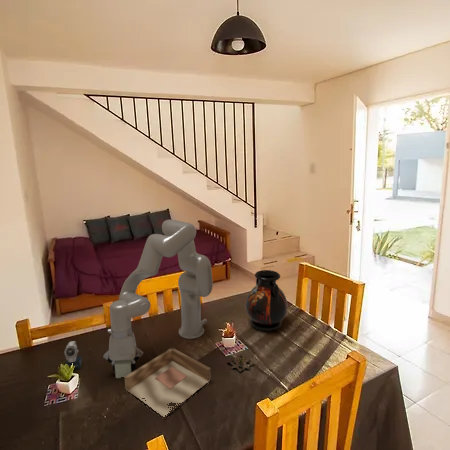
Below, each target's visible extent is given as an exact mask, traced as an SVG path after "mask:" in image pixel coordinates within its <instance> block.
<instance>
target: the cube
mask: <svg viewBox="0 0 450 450" xmlns="http://www.w3.org/2000/svg"><path fill="white" fill-rule="evenodd" d="M131 363H132V362H131V360H118V361H116V363H115V374H114V375H115V379H122V378H121V377H125V376H127V375H128V374H130V373H132V370H131Z"/></svg>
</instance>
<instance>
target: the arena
mask: <svg viewBox="0 0 450 450" xmlns="http://www.w3.org/2000/svg"><path fill="white" fill-rule="evenodd" d="M211 371H212V368H211V367H209V366H207V365H205V364H203V363H202V362H200V361H198V360H196V359H195V358H192V357H191V356H188V355H186V354H185V353H183V352H181V351H179V350H177V349H176V348H174V347H170V348H169V349H167V350H166V351H164V352H162V353H161V354H159V355H157V356H156V357H155V358H153V359H151V360H150V361H148V362H146V363H145V364H143V365H140V367H138V368H137V369H134V371H133V372H132V373H130V374H128V375H127V376H125V377H124V389H126V390H127V391H128V392H130V393H131V394H133V395H134V396H136V397H137V398H139V399H140V400H141V401H143V402H144V403H145V404H147V405H148V406H149V407H151V408H152V409H153V410H154V411H156V412H157V413H159V414H160V415H161V416H163V417H165V415H166V416H167V414H168V413H170V412H169V411H171V410H172V407H173V408H174V406H168V405H169V403H171V402H172V403H176V405H177V406H178V404H179V403H182V402H184V401H185V400H186V399H188V398H189V397H190V396H191V395H193V394H194V393H195V392H196V391H197V390H199V389H200V388H202V387H203V386H204V385H205V384H206V383H208V382H209V381H210V380H211V381H212V379H211V378H212V377H211V376H212V372H211ZM208 384H209V383H208ZM202 389H203V388H202ZM127 391H126V392H127ZM128 392H127V393H128ZM131 394H130V395H131ZM142 398H145V399H142ZM145 400H146V401H145ZM177 403H178V404H177ZM167 404H168V405H167ZM176 405H175V406H176ZM179 405H180V404H179ZM168 407H169V408H168ZM170 407H171V408H170ZM175 408H176V407H175ZM170 409H171V410H170ZM173 410H174V409H173Z"/></svg>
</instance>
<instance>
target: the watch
mask: <svg viewBox="0 0 450 450" xmlns="http://www.w3.org/2000/svg"><path fill="white" fill-rule="evenodd" d="M78 353H79V349H78V345H77V342H76V341H75V340H73V341H69V342H68V343H67V345H66V347H65V349H64V352H63V354H64V357H65V359H66V361H65V364H68V365H69V366H71V365H72V363H73V365H74V366H75V370H79V369H81V368H82V367H81V366H82V363H83V360H82V355H80V356H79V355H78ZM77 355H78V356H77ZM65 364H64V365H65Z"/></svg>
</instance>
